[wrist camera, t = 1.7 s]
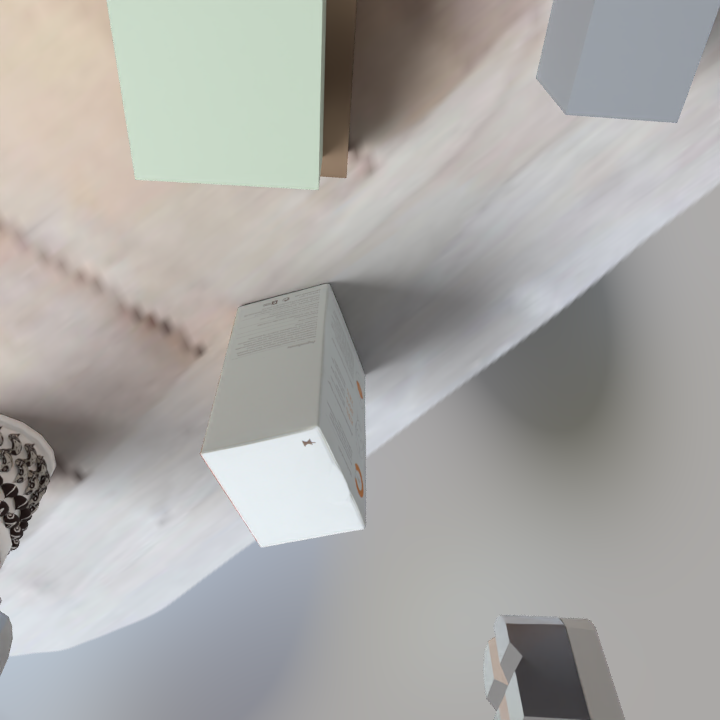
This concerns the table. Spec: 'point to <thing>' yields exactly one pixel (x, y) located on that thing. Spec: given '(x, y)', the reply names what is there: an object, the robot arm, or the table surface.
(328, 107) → the tower base
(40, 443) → the decorative candle
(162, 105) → the tower top
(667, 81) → the block
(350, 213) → the table surface
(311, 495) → the small box
